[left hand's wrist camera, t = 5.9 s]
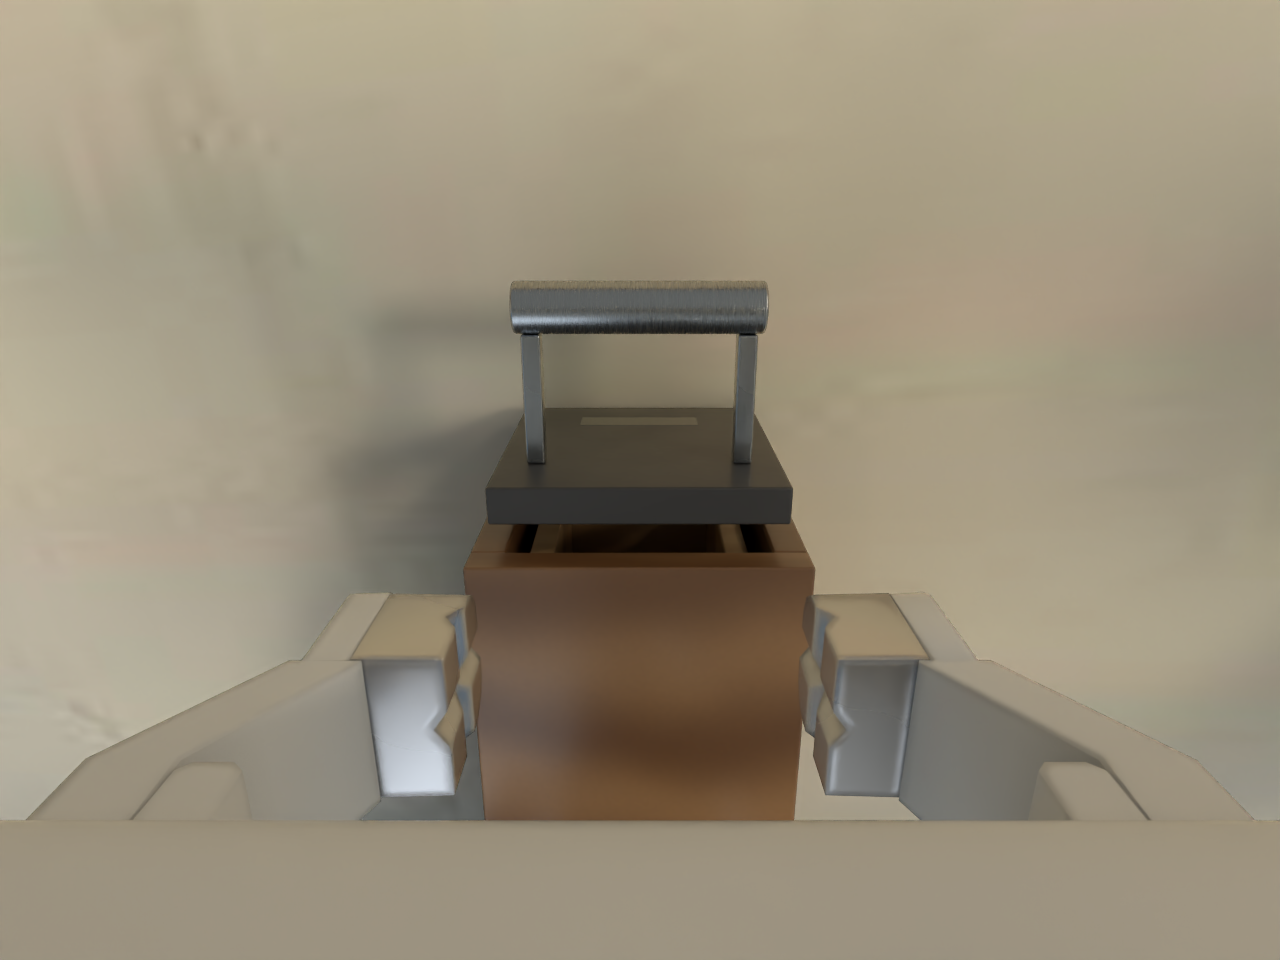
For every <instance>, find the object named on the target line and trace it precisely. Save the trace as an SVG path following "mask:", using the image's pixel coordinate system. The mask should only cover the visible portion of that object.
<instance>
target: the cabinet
mask: <svg viewBox="0 0 1280 960" xmlns="http://www.w3.org/2000/svg"><path fill="white" fill-rule="evenodd" d="M538 525H539V524H488V518H487V519H486V521H485V523H484V525H483V527H482V529H481V532H480V534H479V536H478V538H477V540H476V542H475V545H474V547H473V549H472V551H471V554H470V555H469V558H468V560H467V562H466V564H465V566H464V569H463V573H464V584H465V595H472V596H473V598H474V601H475V603H476V611H477V621H478V629H477V631H476V634H475V637H474V640H473V643H472V646H471V647H472V648H473V649H474V650H475V651H476V653H477V654H478V655H479V656H480V657H481V669H482V695H481V703H480V710H479V717H478V720H477V736H478V747H479V759H480V771H481V782H482V794H483V806H484V817H485V820H794V814H795V802H796V790H797V779H798V767H799V755H800V743H801V732H802V716H801V710H800V705H799V689H798V674H799V657H800V656H801V655H802V654H803V653H804V652H805V650H806V649H807V648H808V647H809V645H808V642H807V640H806V637H805V634H804V631H803V628H802V621H803V610H804V605H805V601H806V597H807V596H810V595H813V591H814V579H815V567H814V565H813V563H812V561H811V558H810V556H809V554H808V553H807V550H806V548H805V546H804V544H803V542H802V540H801V537H800V535H799V533H798V531H797V529H796V527H795V525H794V522H793V520H792V518H791V522H790V524H740V528H741V531H742V534H743V538H744V541H745V544H746V548H747V551H748V553H530V552H531V549H532V545H533V542H534V539H535V535H536V532H537V529H538Z"/></svg>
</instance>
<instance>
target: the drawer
mask: <svg viewBox="0 0 1280 960" xmlns="http://www.w3.org/2000/svg"><path fill="white" fill-rule="evenodd" d="M509 305H510V320H511V326H512V329H513V332H514V333H515V334H522V335H521V337H520V340H521V359H522V378H523V398H524V415H523V416H522V418H521V420H520V422H519V424H518V426H517V428H516V430H515V432H514V434H513V436H512V438H511V440H510V442H509V444H508V446H507V448H506V450H505V452H504V454H503V456H502V457H501V459H500V461H499V463H498V465H497V467H496V469H495V471H494V473H493V475H492V477H491V479H490V481H489V483H488V485H487V487H486V489H485V491H486V505H487V518H488V524H539V525H538V529H537V532H536V535H535V539H534V542H533V545H532V549H531V552H530V553H748V551H747V548H746V544H745V541H744V538H743V534H742V531H741V528H740V524H790V522H791V511H792V497H793V488H792V486H791V484H790V482H789V480H788V478H787V476H786V474H785V472H784V470H783V468H782V466H781V464H780V462H779V460H778V458H777V457H776V455H775V453H774V451H773V449H772V447H771V445H770V443H769V441H768V439H767V437H766V435H765V433H764V431H763V429H762V427H761V425H760V423H759V422H758V420H757V418H756V416H755V414H754V406H755V386H756V367H757V347H758V336H757V334H763V333H764V332H765V330H766V327H767V322H768V313H769V293H768V286H767V283H766V282H765V281H514V282H512V284H511V288H510V300H509ZM542 334H737V335H736V358H735V382H734V405H733V408H545V396H544V373H543V349H542Z"/></svg>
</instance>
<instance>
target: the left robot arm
mask: <svg viewBox="0 0 1280 960" xmlns="http://www.w3.org/2000/svg"><path fill="white" fill-rule="evenodd" d="M802 628H803V631H804V634H805V637H806V640H807V642H808V645H809V647H808V648H807V649H806V650H805V652H804V653H803V654H802V655H801V656H800V657H799V674H798V689H799V705H800V710H801V716H802V720H803V724H804V727H805V731H806V732H807V733H809V734H810V735H811V736H813V737H814V738H815V740H814V752H813V757H814V760H815V763H816V766H817V770H818V773H819V776H820V779H821V782H822V785H823V789H824V792H825V795H838V796H875V797H899V801H900V802H901V803H902V804H903V805H905V806H906V807H907V808H908V809H909V810H910V811H911V812H912V813H913V814H914V815H916V816H917V817H918V818H919V819H920V820H361V819H362V818H363V817H364V816H365V815H366V814H367V813H368V812H369V811H370V810H372V809H373V808H374V807H375V806H376V805H377V804H378V803H379V802H380V801H381V797H404V796H440V795H455V792H456V789H457V786H458V783H459V780H460V776H461V773H462V770H463V767H464V764H465V760H466V757H467V751H466V739H465V738H466V737H467V736H469V735H470V734H471V733H473V732H474V731H475V727H476V724H477V720H478V717H479V710H480V703H481V695H482V669H481V657H480V656H479V655H478V654H477V653H476V651H475V650H474V649H473V648H472V647H471V646H472V643H473V640H474V637H475V634H476V631H477V629H478V621H477V611H476V603H475V601H474V598H473V596H472V595H448V594H392V593H359V594H350V595H349V596H348V597H347V598H346V600H345V601H344V603H343V604H342V605H341V607H340V608H339V609H338V611H337V612H336V614H335V615H334V616H333V618H332V619H331V621H330V622H329V623H328V625H327V626H326V627H325V629H324V630H323V632H322V633H321V634H320V636H319V637H318V638H317V640H316V641H315V643H314V644H313V645H312V647H311V648H310V650H309V651H308V652H307V654H306V655H305V656H304V658H303V659H302V660H289V661H287V662H285V663H283V664H281V665H279V666H277V667H274V668H272V669H270V670H268V671H266V672H264V673H262V674H260V675H258V676H256V677H254V678H252V679H250V680H248V681H246V682H243V683H241V684H239V685H237V686H235V687H233V688H231V689H229V690H227V691H225V692H223V693H221V694H219V695H217V696H214V697H212V698H210V699H208V700H206V701H204V702H202V703H200V704H198V705H196V706H194V707H192V708H190V709H188V710H185V711H183V712H181V713H179V714H177V715H175V716H173V717H171V718H169V719H167V720H165V721H163V722H161V723H159V724H156V725H154V726H152V727H150V728H148V729H146V730H144V731H142V732H140V733H138V734H136V735H134V736H132V737H130V738H127V739H125V740H123V741H121V742H119V743H117V744H115V745H113V746H111V747H109V748H107V749H105V750H103V751H101V752H98V753H96V754H94V755H92V756H90V757H88V758H86V759H85V760H84V761H83V762H82V763H81V764H80V765H79V766H78V767H77V768H76V769H75V770H74V771H73V772H72V773H71V774H70V775H69V776H68V777H67V778H66V779H65V780H64V781H63V782H62V783H61V784H60V785H59V786H58V787H57V788H56V789H55V790H54V791H53V792H52V794H51V795H50V796H49V797H48V798H47V799H46V800H45V801H44V802H43V803H42V804H41V805H40V806H39V807H38V808H37V809H36V810H35V811H34V812H33V813H32V814H31V815H30V816H29V817H28V818H27V819H26V820H0V960H1280V821H1255V820H1254V819H1253V818H1252V817H1251V816H1250V815H1249V814H1248V813H1247V812H1246V811H1245V810H1244V808H1243V807H1242V806H1241V805H1240V804H1239V803H1238V802H1237V801H1236V800H1235V799H1234V798H1233V797H1232V796H1231V795H1230V794H1229V793H1228V792H1227V791H1226V790H1225V789H1224V788H1223V787H1222V786H1221V785H1220V784H1219V783H1218V782H1217V781H1216V780H1215V779H1214V778H1213V777H1212V776H1211V774H1210V773H1209V772H1208V771H1207V770H1206V769H1205V768H1204V767H1203V766H1202V765H1201V764H1200V763H1199V762H1198V761H1197V760H1195V759H1193V758H1191V757H1189V756H1187V755H1185V754H1183V753H1181V752H1179V751H1177V750H1175V749H1173V748H1171V747H1169V746H1167V745H1165V744H1162V743H1160V742H1158V741H1156V740H1154V739H1152V738H1150V737H1148V736H1146V735H1144V734H1142V733H1140V732H1138V731H1136V730H1134V729H1131V728H1129V727H1127V726H1125V725H1123V724H1121V723H1119V722H1117V721H1115V720H1113V719H1111V718H1109V717H1107V716H1105V715H1103V714H1101V713H1098V712H1096V711H1094V710H1092V709H1090V708H1088V707H1086V706H1084V705H1082V704H1080V703H1078V702H1076V701H1074V700H1072V699H1070V698H1067V697H1065V696H1063V695H1061V694H1059V693H1057V692H1055V691H1053V690H1051V689H1049V688H1047V687H1045V686H1043V685H1041V684H1039V683H1037V682H1034V681H1032V680H1030V679H1028V678H1026V677H1024V676H1022V675H1020V674H1018V673H1016V672H1014V671H1012V670H1010V669H1008V668H1006V667H1004V666H1001V665H999V664H997V663H995V662H993V661H991V660H978V659H977V658H976V656H975V655H974V654H973V652H972V651H971V650H970V648H969V647H968V645H967V644H966V643H965V641H964V640H963V639H962V637H961V636H960V634H959V633H958V632H957V630H956V629H955V628H954V626H953V625H952V624H951V622H950V621H949V619H948V618H947V617H946V615H945V614H944V613H943V611H942V610H941V609H940V607H939V606H938V604H937V603H936V602H935V600H934V599H933V598H932V596H931V595H929V594H927V593H924V592H923V593H901V594H889V593H876V594H834V595H810V596H807V597H806V601H805V605H804V610H803V621H802Z"/></svg>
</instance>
